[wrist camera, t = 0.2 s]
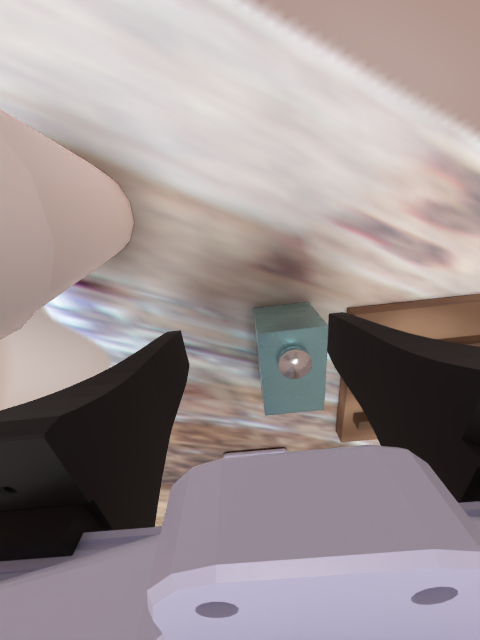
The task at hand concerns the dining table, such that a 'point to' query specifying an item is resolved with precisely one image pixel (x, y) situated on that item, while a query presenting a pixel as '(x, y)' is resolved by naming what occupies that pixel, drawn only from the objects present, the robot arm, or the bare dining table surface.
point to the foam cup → (51, 221)
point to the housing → (291, 357)
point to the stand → (416, 318)
